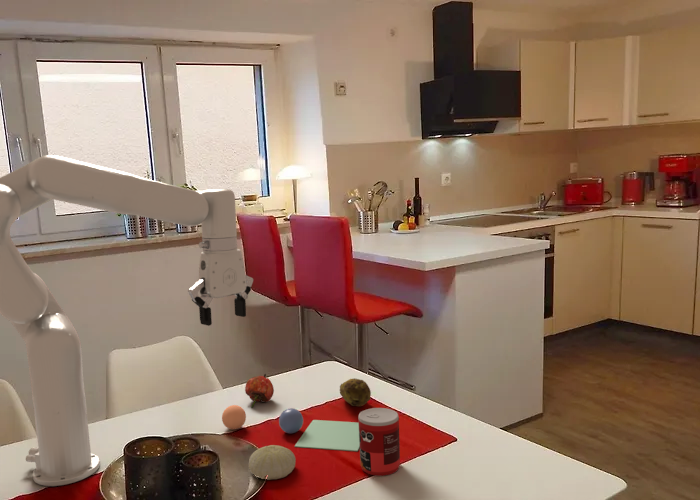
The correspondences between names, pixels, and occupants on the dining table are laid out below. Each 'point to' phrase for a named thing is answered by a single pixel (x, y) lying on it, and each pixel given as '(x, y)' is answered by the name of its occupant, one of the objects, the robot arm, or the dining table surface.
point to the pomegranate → (259, 389)
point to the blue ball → (291, 420)
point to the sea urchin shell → (272, 462)
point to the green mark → (331, 435)
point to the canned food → (379, 441)
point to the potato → (355, 392)
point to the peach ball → (233, 417)
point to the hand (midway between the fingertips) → (223, 320)
